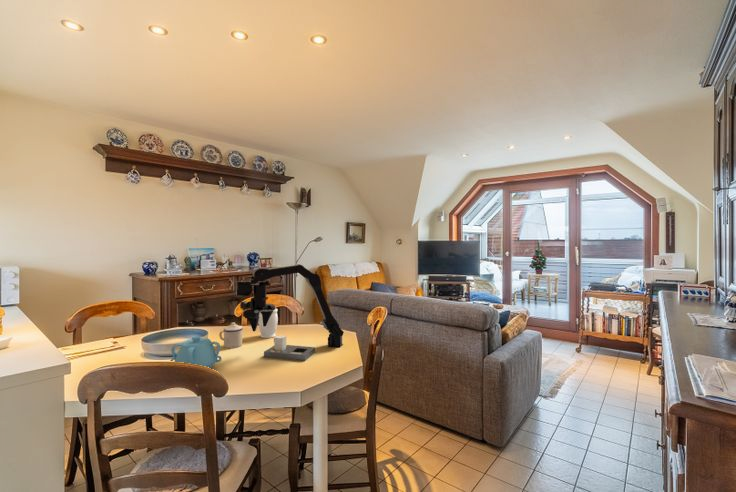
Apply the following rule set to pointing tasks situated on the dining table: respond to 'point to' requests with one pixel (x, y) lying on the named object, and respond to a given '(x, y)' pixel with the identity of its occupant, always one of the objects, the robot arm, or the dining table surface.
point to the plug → (280, 343)
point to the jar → (268, 325)
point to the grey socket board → (291, 353)
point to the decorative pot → (197, 352)
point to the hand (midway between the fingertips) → (259, 328)
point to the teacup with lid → (232, 336)
